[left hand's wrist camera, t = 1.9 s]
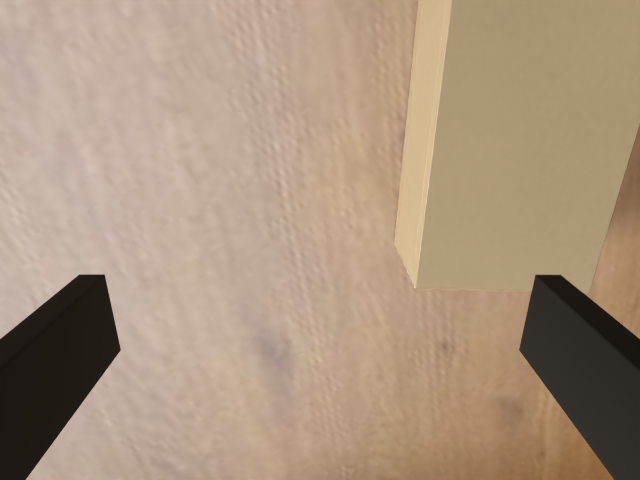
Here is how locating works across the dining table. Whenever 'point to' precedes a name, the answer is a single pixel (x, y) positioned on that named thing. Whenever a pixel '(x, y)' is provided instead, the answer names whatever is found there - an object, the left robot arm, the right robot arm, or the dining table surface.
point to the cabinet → (516, 140)
